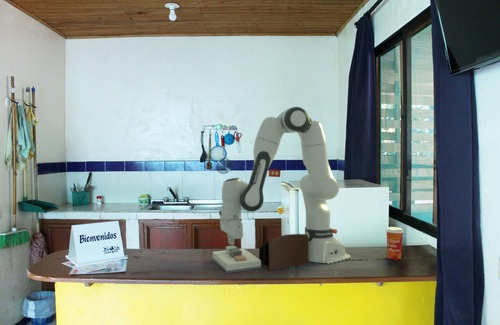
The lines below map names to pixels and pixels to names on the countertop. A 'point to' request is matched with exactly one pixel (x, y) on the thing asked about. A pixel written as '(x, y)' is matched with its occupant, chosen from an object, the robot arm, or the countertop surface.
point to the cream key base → (234, 266)
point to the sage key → (229, 249)
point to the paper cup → (394, 242)
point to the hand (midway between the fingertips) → (231, 244)
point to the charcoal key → (235, 252)
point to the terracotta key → (240, 258)
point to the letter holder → (285, 251)
